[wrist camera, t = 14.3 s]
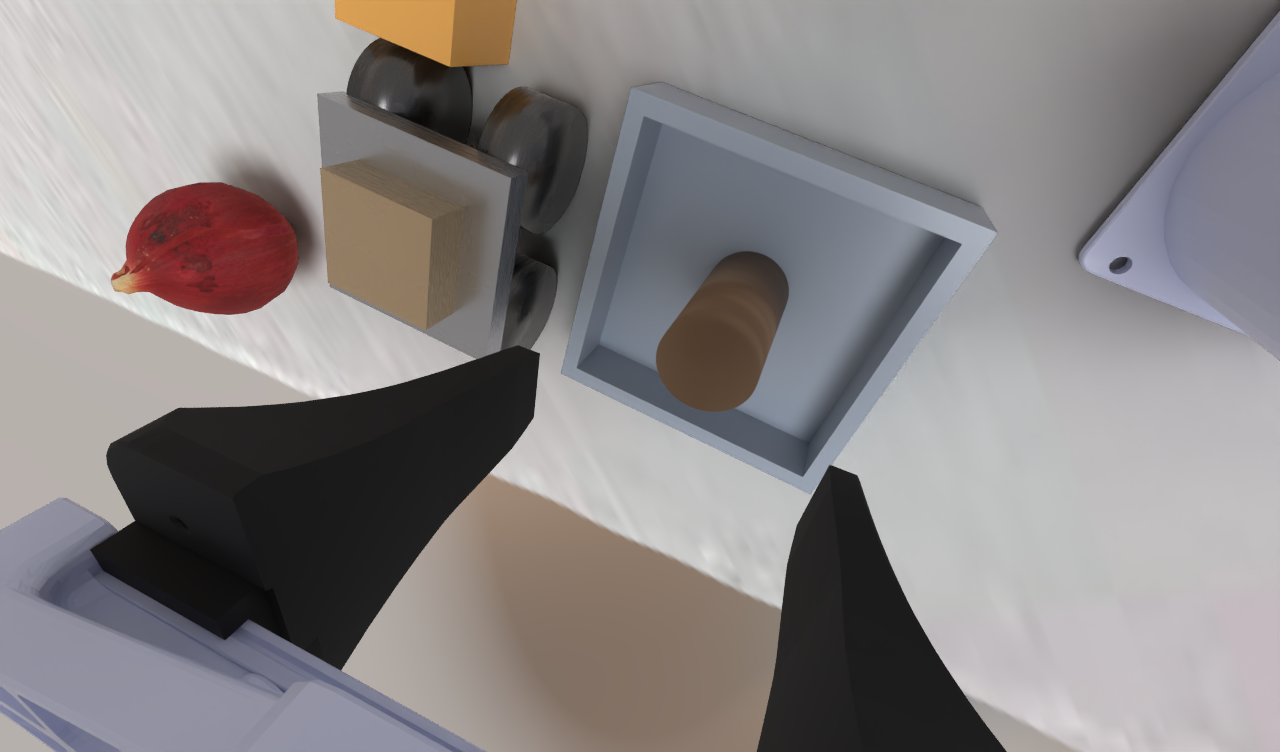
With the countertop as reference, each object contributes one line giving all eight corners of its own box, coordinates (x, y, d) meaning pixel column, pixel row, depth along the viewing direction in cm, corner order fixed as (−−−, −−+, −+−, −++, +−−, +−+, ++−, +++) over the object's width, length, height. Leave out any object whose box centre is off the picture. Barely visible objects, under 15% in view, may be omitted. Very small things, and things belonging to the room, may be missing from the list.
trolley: (599, 101, 19) (488, 124, 14) (548, 337, 25) (456, 418, 20) (433, 34, 20) (267, 31, 15) (422, 277, 26) (301, 338, 21)
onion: (255, 142, 26) (50, 174, 20) (349, 226, 27) (180, 284, 20) (237, 229, 29) (59, 281, 23) (321, 303, 30) (169, 373, 24)
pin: (800, 265, 19) (773, 338, 14) (774, 338, 21) (742, 425, 16) (718, 241, 20) (666, 304, 15) (700, 313, 21) (647, 391, 17)
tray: (982, 207, 17) (998, 232, 15) (817, 451, 23) (810, 494, 21) (661, 82, 18) (631, 87, 16) (589, 343, 25) (560, 373, 23)
